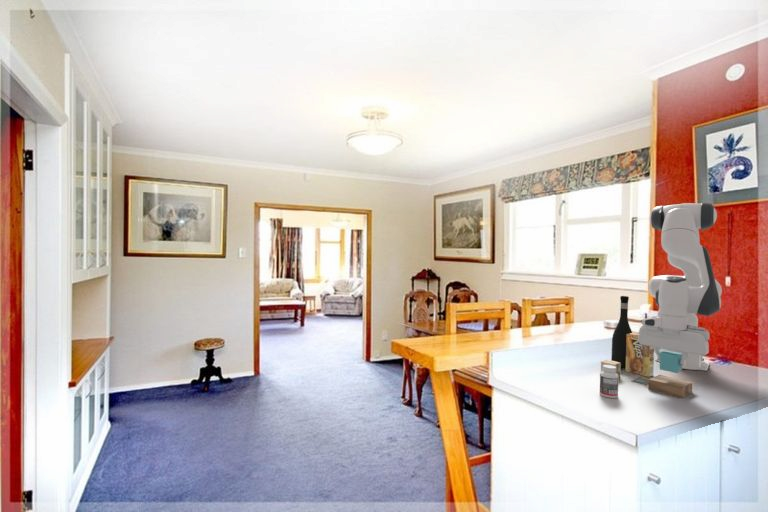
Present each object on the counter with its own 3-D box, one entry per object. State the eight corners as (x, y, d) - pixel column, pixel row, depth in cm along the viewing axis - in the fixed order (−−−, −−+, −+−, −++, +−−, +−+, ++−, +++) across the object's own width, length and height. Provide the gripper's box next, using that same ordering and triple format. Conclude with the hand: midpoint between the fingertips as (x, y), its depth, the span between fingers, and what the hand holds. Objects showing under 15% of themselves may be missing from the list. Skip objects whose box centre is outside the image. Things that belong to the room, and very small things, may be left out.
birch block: (606, 374, 158) (607, 359, 158) (620, 378, 154) (620, 362, 154) (600, 376, 155) (601, 361, 155) (614, 380, 151) (614, 364, 151)
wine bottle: (634, 367, 170) (637, 296, 170) (631, 370, 164) (634, 297, 164) (613, 363, 175) (615, 294, 175) (609, 366, 169) (611, 295, 169)
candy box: (653, 375, 158) (655, 337, 158) (648, 377, 156) (650, 338, 156) (629, 369, 166) (631, 332, 165) (624, 371, 163) (626, 333, 163)
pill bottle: (600, 391, 138) (601, 363, 138) (618, 395, 135) (619, 366, 134) (598, 396, 133) (599, 366, 133) (617, 399, 130) (618, 369, 130)
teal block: (665, 367, 144) (665, 350, 144) (681, 370, 140) (682, 353, 140) (659, 369, 141) (660, 352, 141) (676, 373, 137) (677, 355, 137)
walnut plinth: (659, 385, 147) (659, 374, 147) (692, 393, 139) (692, 382, 139) (648, 390, 141) (648, 379, 141) (682, 399, 133) (682, 387, 133)
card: (639, 377, 155) (639, 376, 155) (654, 381, 151) (654, 380, 151) (631, 381, 150) (631, 380, 150) (645, 384, 146) (646, 383, 146)
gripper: (712, 327, 134) (711, 368, 134) (644, 318, 150) (642, 355, 150) (706, 329, 130) (705, 371, 130) (636, 319, 146) (635, 357, 146)
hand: (671, 362), depth 140 cm, fingers closed on teal block, 5 cm apart
